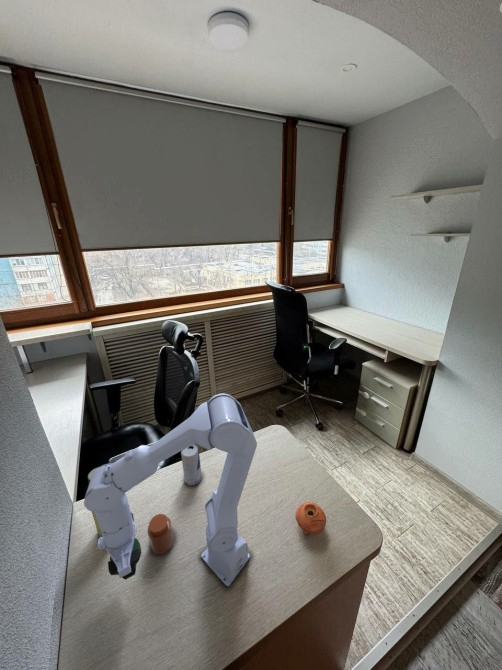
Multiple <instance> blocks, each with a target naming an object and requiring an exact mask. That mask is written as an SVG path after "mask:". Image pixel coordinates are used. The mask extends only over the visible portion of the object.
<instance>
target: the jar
mask: <svg viewBox="0 0 502 670" xmlns="http://www.w3.org/2000/svg"><path fill="white" fill-rule="evenodd" d="M147 535H148V539H149V545H150V549H151V551H152V552H153V553H154V554H156V555H162V554H165V553H167V552H168V551H169V550H170V549H171V548H172V546H173V544H174V540H175V537H174V536H175V535H174V531H173V526H172V521H171V519H170V518H169V517H168V516H167V515H166V514H165V513H158V514H155V515H154V516H153V517H152V518H151V519H150V521H149V523H148V527H147Z"/></svg>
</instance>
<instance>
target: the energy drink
mask: <svg viewBox="0 0 502 670" xmlns="http://www.w3.org/2000/svg"><path fill="white" fill-rule="evenodd" d="M199 449H200V448H199V447H198V445H197V444H193V445H191V446H189V447H187V448H185V449H183V450H182V451H180V456H181V463H182V470H183V477H184V482H185V483H186V484H187V485H190V486H194V485H197V484H198V483H200V482H201V480H202V478H203V477H202V467H201V458H200V457H201V456H200V450H199Z"/></svg>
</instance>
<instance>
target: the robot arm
mask: <svg viewBox="0 0 502 670" xmlns="http://www.w3.org/2000/svg"><path fill="white" fill-rule="evenodd" d="M193 444H195V445H197V446H200V447H202V448H204V449H206V450H208V451H210V450H211V451H212V446H213V447H214V448H216V449H217V450H218V451H221V452H225V453H227V454H226V457H225V461H224V464H223V469H222V471H221V474H220V475H221V476H220V478H219V483H218V486H217V490H213V491H212V494H211V496H210V497H209V498H208V499H207V501H206V502H205V506H204V507H205V508H204V509H205V512H206V522H207V526H206V528H205V536H206V546H207V547H206V548H205V549H204V550H203V551H202V552H201V554H200V558H201V559H202V560H203V561H204V563H205V564H206V565H207V566H208V567H209V568H210V569H211V570H212V571H213V572H214V574H215V575H216V576H217V578H219V579H220V581H222V583H223V584H224V585H225V586H226V587H229V586H231V584H232V583H233V581H234V580H235V579H236V577H237V576H238V574H239V573H240V571H241V570H242V569H243V568H244V566H245V565H246V564H247V562H248V561H249V559H251V554H250V553H249V551H248V549H249V548H248V547H249V545H248V543H247V541H246V540H245V539H243V537H242V536H241V534H240V532H239V529H238V526H239V524H238V523H239V522H238V520H239V519H238V506H239V503H240V500H241V497H242V493H243V490H244V487H245V484H246V481H247V478H248V476H249V471H250V469H251V466H252V462H253V459H254V456H255V453H256V450H257V447H258V442H257V439H256V437H255V433H254V431H253V429H252V427H251V425H250V422H249V420H248V419H247V416H246V414H245V412H244V409H243V407H242V404H241V403H240V402H239V401H238V400H237V399H236V398H234V396H233V395H231V394H228V393H218V394H215V395H212V397H211V398H210V399H208V401H204V402H202V403H200V404H199V406H198V407H197V408H196V409H195V411H194V412H193V413H192V414H191V415H190V416H189V417H188V418H186V419H185V420H183V422H181V423H180V424H178V425H177V426H176V427H175V428H173V429H172V430H170V431H168V432H167V433H166V434H165V435H164V436H162V437H160V438H159V440H157V441H155V442H154V443H152V445H145V444H141V445H139V446H138V447H136V448H134V449H133V450H132V449H130V450H128V451H127V452H125V453H124V456H122V457H121V458H119V459H118V460H116V461H115V462H113V463H105V464H102V465H101V466H98V467H99V468H98V467H97V468H98V469H96V470H95V471H94V473H93V475H92V478H91V481H90V483H88V486H87V490H86V492H85V495H84V501H83V505H84V508H85V509H86V510H88V511H90V512H91V513H92V512H94V513H95V516H96V519H97V522H98V525H99V528H100V530H101V533H102V536H103V537H99V538H98V539H97V548H98V550H99V551H100V550H103V549H105V550H106V552H107V553H108V555H109V557H110V556H111V558H112V559H113V560H111V561H110V560H109V561H107V571H108V574H109V575H110V576H119V579H121V578H122V579H124V580H125V581H126V580H128V579H129V578H131V577H133V576H135V575H136V572H137V564H138V562H139V561H140V559H141V556H140V553H139V548H137V549H135V550H133V551H132V548H133V544H134V539H135V538H136V533H137V525H136V522H135V518H134V513H133V512H132V511H131V507H130V504H129V500H128V495H127V492H129V491H130V490H132V489H134V487H136V486H138V485H139V484H141V483H142V482H144V481H145V480H147V479H148V478H150V477H151V476H153V475H154V474H156V473H157V471H158V468H159V464H160V463H161V462H164V461H166V460H167V459H169V458H171V457H173V456H174V455H176V454H178V453H179V452H180V453H181V452H182V450H183V449H185V448H187V447H189V446H191V445H193Z"/></svg>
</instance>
